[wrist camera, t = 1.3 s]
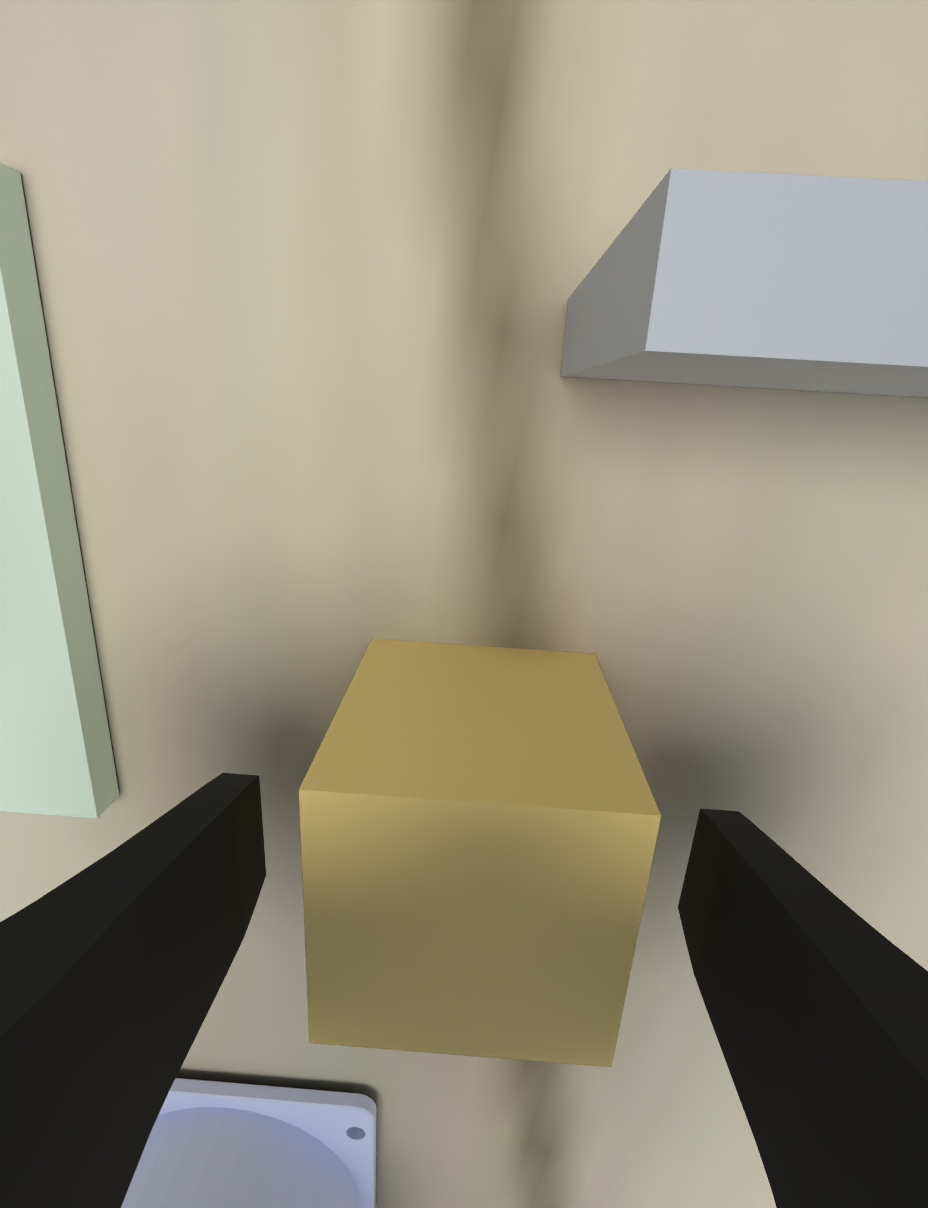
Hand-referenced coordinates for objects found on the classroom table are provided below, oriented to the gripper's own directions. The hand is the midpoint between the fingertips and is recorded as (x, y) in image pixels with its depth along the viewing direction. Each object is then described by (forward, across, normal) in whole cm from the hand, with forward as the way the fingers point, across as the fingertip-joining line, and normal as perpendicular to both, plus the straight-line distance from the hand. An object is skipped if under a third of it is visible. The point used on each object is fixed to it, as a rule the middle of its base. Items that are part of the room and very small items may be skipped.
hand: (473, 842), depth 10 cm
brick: (+3, 0, 0) cm, 3 cm away
